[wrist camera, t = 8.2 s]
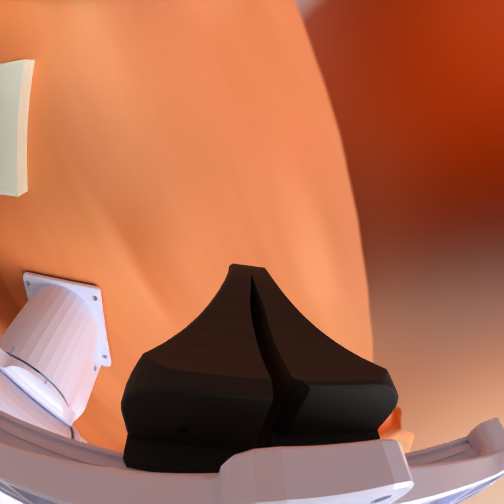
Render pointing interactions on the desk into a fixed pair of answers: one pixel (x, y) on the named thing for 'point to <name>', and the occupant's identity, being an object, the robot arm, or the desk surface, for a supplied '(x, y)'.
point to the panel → (14, 125)
